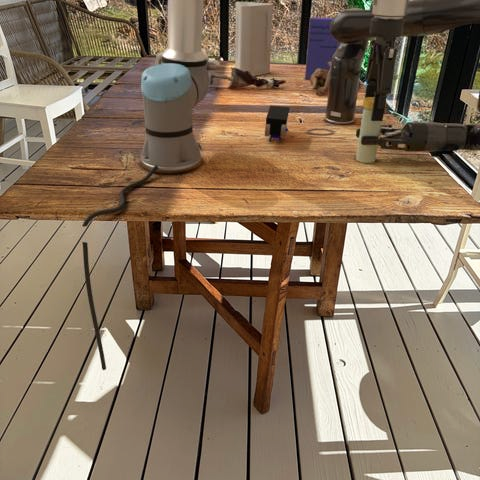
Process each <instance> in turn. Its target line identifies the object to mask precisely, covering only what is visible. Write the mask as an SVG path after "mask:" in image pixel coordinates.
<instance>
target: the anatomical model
mask: <svg viewBox="0 0 480 480" xmlns="http://www.w3.org/2000/svg"><path fill="white" fill-rule="evenodd" d="M327 64H328V66H330V70H324V69H320V68H318V69H316V70H315V72H314V73H313V74H312V76H311V78H310V79H309V82H310V85H311V86H312V90H314V91H315V95H316V96H318V95H319V96H322V94H325V92H328V90H329V81H330V71H331V61H330V62H328V63H327Z"/></svg>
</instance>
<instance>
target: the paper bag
mask: <svg viewBox="0 0 480 480" xmlns="http://www.w3.org/2000/svg"><path fill="white" fill-rule="evenodd" d="M273 8H274V4H273V3H269V2H267V3H266V2H265V3H264V2H252V1H235V59H234V60H235V62H234V63H235V65H234V66H235V67H234V68H237V69H240V70H242V71H244V72H245V71H249V72H250V73H251V75H252V76H256V77H257V76H259V75H260V76H261V75H266V74H270V73H271V56H272V55H271V54H272V33H273V32H272V31H273V10H274V9H273Z"/></svg>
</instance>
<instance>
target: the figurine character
mask: <svg viewBox="0 0 480 480" xmlns="http://www.w3.org/2000/svg"><path fill="white" fill-rule="evenodd" d="M289 113H290V107H289V106H282V105H281V106H280V105H269V109H268V111H267V115H266V118H265V129H264V137H269V138H268V142H269V143H272V139H275V140H276V139H278V143H281V142H282V139H283V138H285V137H286V134H287V133H288V132H289V129H288V126H287V125H288V119H289Z"/></svg>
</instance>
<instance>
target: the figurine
mask: <svg viewBox="0 0 480 480" xmlns="http://www.w3.org/2000/svg"><path fill="white" fill-rule="evenodd" d="M230 69H231V72H230V73H231V74H230V76H229V75H225V74H213V73H211V74H209V85H212V84H213V83H214V79H215V78H216V79H223V80H227V81H229V84H228V88H229V89H241V88H247V87H249V86H255V87H256V88H262V87H268V88H271V89H273V88H280V86H281V85H284V84H286V83H287V80H285V79H275V78H274V77H272V78H265V77H262V78H261V77H257V76H252V75H251V73H250V72H249V71H245V72H244V71H242V70H240V69H237V68H235V67H232V66H231V67H230Z"/></svg>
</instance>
